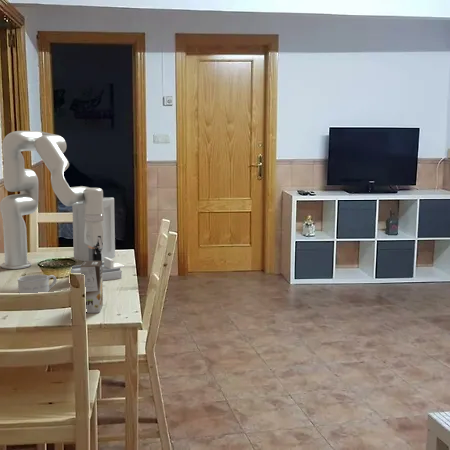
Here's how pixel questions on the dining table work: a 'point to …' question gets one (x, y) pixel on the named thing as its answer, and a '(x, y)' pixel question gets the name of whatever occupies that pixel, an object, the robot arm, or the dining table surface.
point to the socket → (106, 272)
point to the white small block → (111, 263)
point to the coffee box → (93, 285)
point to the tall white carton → (108, 231)
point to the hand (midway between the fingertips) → (95, 261)
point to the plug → (91, 252)
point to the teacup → (35, 283)
